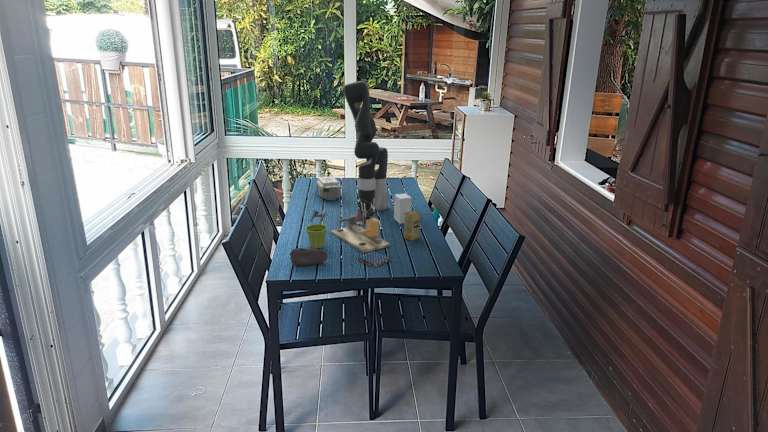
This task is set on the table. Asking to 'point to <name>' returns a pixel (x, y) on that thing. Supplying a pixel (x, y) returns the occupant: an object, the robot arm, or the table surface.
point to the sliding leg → (370, 228)
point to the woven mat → (374, 259)
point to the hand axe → (359, 219)
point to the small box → (401, 206)
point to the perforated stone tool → (307, 256)
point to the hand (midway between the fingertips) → (366, 224)
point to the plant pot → (316, 235)
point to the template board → (352, 236)
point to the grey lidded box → (328, 188)
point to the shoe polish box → (411, 225)
